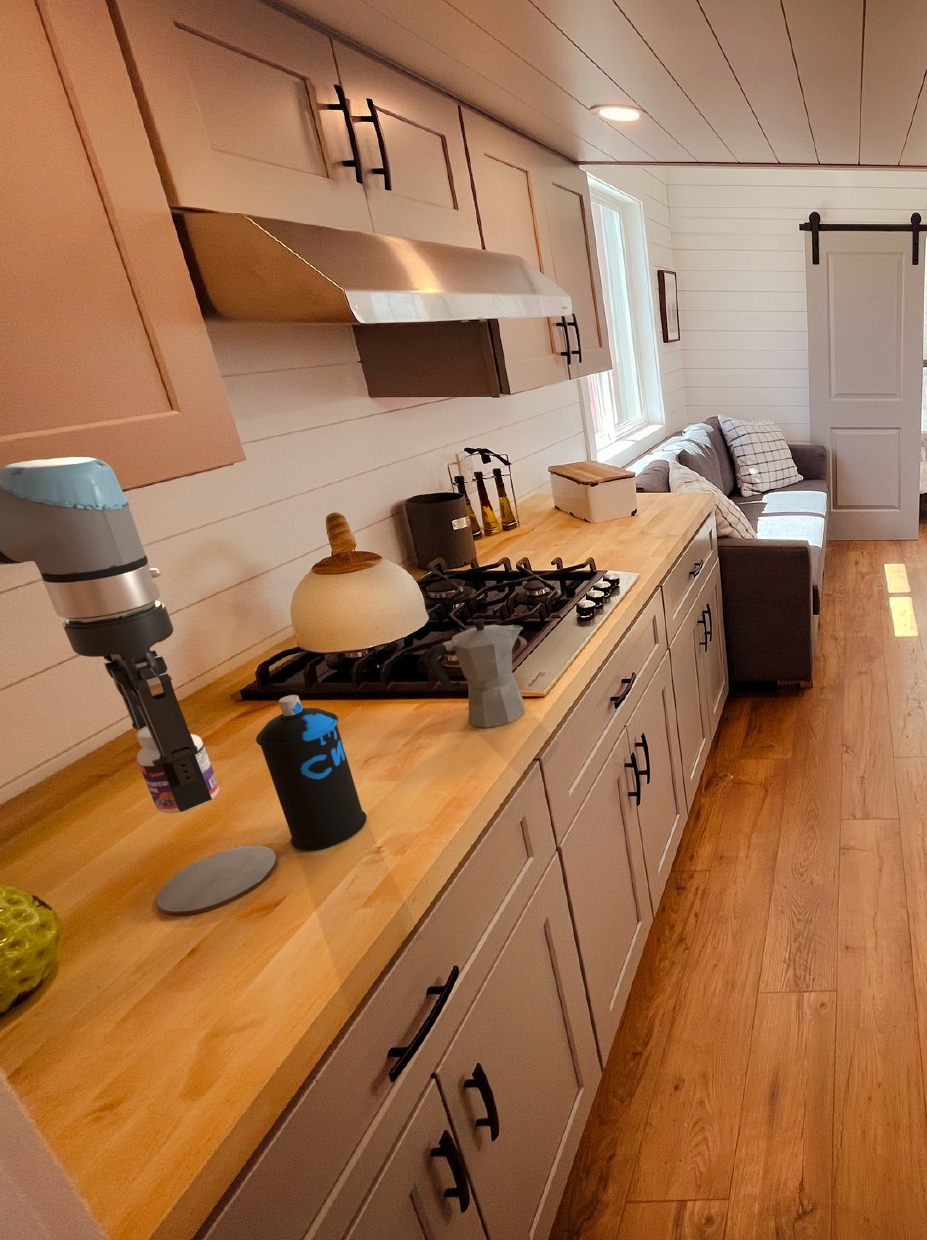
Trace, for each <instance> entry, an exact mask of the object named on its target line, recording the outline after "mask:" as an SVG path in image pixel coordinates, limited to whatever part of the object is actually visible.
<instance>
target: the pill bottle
mask: <svg viewBox="0 0 927 1240" xmlns="http://www.w3.org/2000/svg"><path fill="white" fill-rule="evenodd" d="M188 729H189V730H190V728H189V727H188ZM190 734H191V737H192V739H193V742H194V744H195V746H197V748H198V750H197V751H198V752H197V754H195V756H196V759H197V761H198V764H199V767H200V769H201V772H202V774H203V777H204V780H205V782H206V785H207V787H208V790H209V793H210V795H211V798H212V799H214V798H215V797H216V796H217V795H218V793H219V791H220V785H219V782H218V779H217V777H216V774H215V771H214V768H213V766H212V763H211V761H210V758H209V755H208V752H207V750H206V747H205V744H204V742H203V740H202V738H201V737H200V736H199V735H196V734H193V733H190ZM136 738H137V741H138V744H139V745H140V746H141V747H142V748H141V749H139V751H138V752H137V755H136V761H137V764H138V767H139V769H140V771H141V773H142V776H143V779H144V781H145V783H146V786H147V789H148V792H149V794H150V796H151V799H152V801H153V803H154V806H155V808H156V809H157V811H159V812H161V813H163V814H177V813H178V814H179V813H183V812H187V811H190V810H191V811H192V810H193V809H196V808H199V807H200V806H203V805H204V804H206V803H208V802H209V801H207V802H205V803H202V804H200V805H197V806H195V807H192V808H190V809H187V810H185V811H182V812H180V810H179V809H178V806H177V804H176V801H175V799H174V797H173V794H172V792H171V789H170V787H169V784H168V782H167V779H166V777H165V774H164V772H163V769H162V767H161V765H159V766H156V767H155V766H154V765H153V763H152V761H154V760H157V759H159V757H160V754H159V752H158V750H157V748H156V745H155V743H154V741H153V739H152V737H151V734H150V732H149V730H148V728H147V726H145V727H144V728H142V729H140V730H139V731H138V730H137V732H136Z"/></svg>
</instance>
